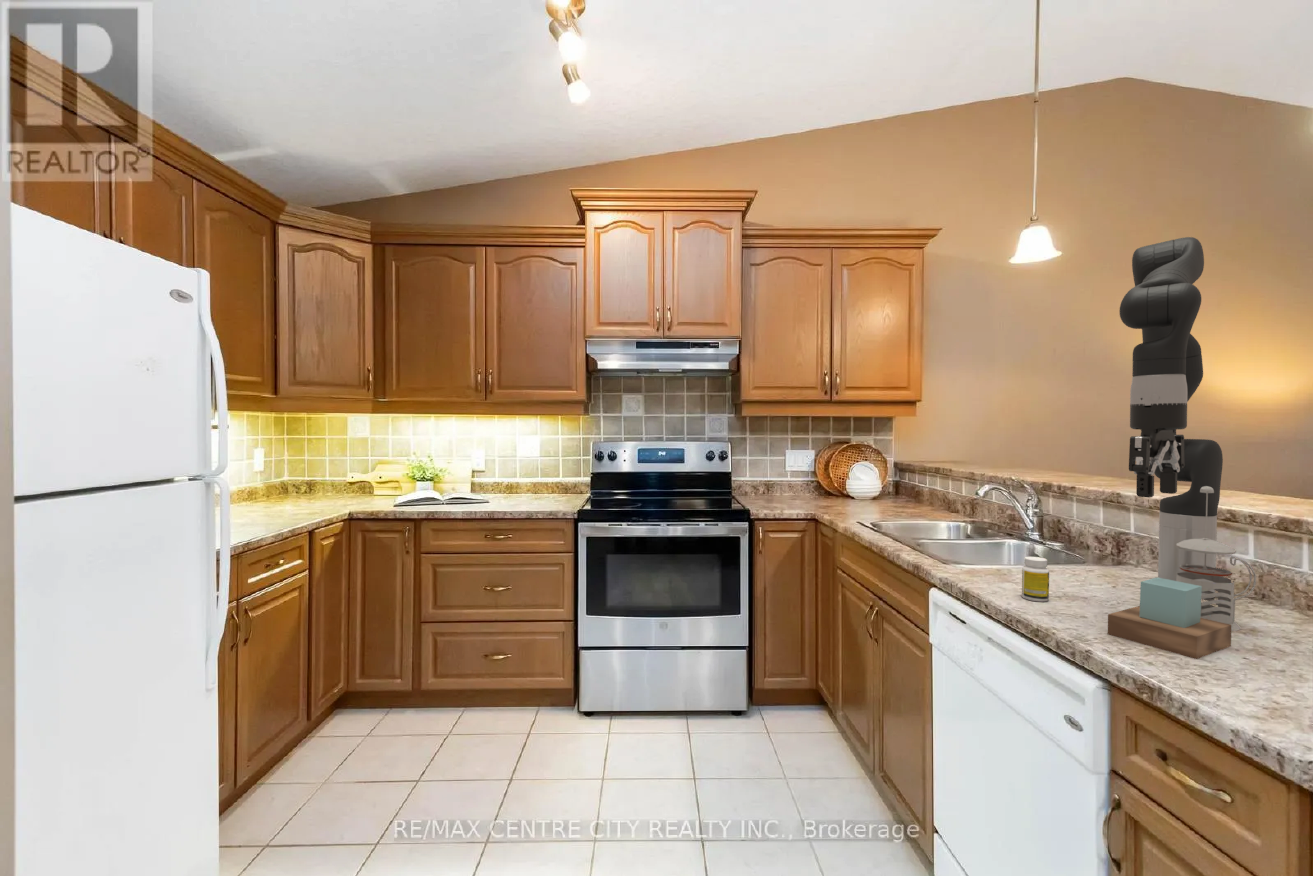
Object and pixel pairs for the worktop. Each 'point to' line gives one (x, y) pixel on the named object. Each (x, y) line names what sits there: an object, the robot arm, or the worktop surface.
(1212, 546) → the french press
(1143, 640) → the walnut block
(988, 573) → the worktop surface
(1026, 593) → the supplement bottle
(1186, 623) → the teal cube
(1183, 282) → the robot arm
